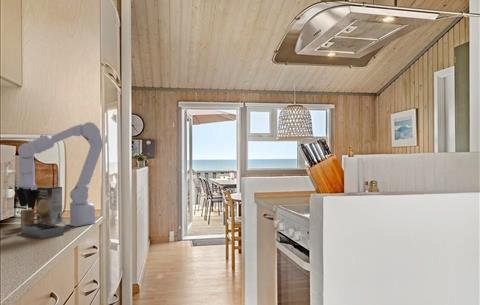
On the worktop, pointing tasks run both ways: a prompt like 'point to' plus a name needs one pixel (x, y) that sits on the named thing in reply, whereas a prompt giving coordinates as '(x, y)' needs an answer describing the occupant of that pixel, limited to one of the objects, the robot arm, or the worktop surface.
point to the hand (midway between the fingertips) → (27, 206)
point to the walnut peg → (27, 217)
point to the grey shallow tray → (42, 230)
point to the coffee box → (49, 205)
